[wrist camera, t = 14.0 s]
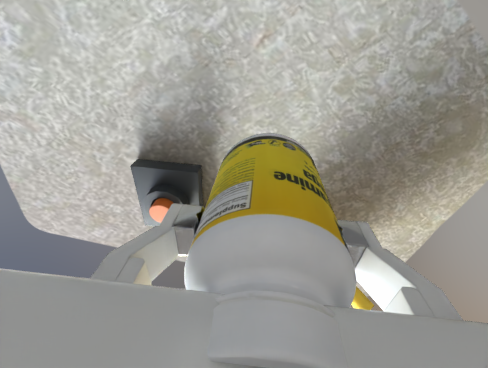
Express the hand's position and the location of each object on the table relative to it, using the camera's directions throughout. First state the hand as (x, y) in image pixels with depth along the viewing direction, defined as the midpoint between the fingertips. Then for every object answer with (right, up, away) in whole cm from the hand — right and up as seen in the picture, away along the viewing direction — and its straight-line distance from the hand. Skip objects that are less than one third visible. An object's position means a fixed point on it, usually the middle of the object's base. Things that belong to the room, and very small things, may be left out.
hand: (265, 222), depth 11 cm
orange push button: (-13, -2, +24) cm, 27 cm away
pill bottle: (+1, +3, +4) cm, 5 cm away
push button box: (-13, 0, +27) cm, 30 cm away
